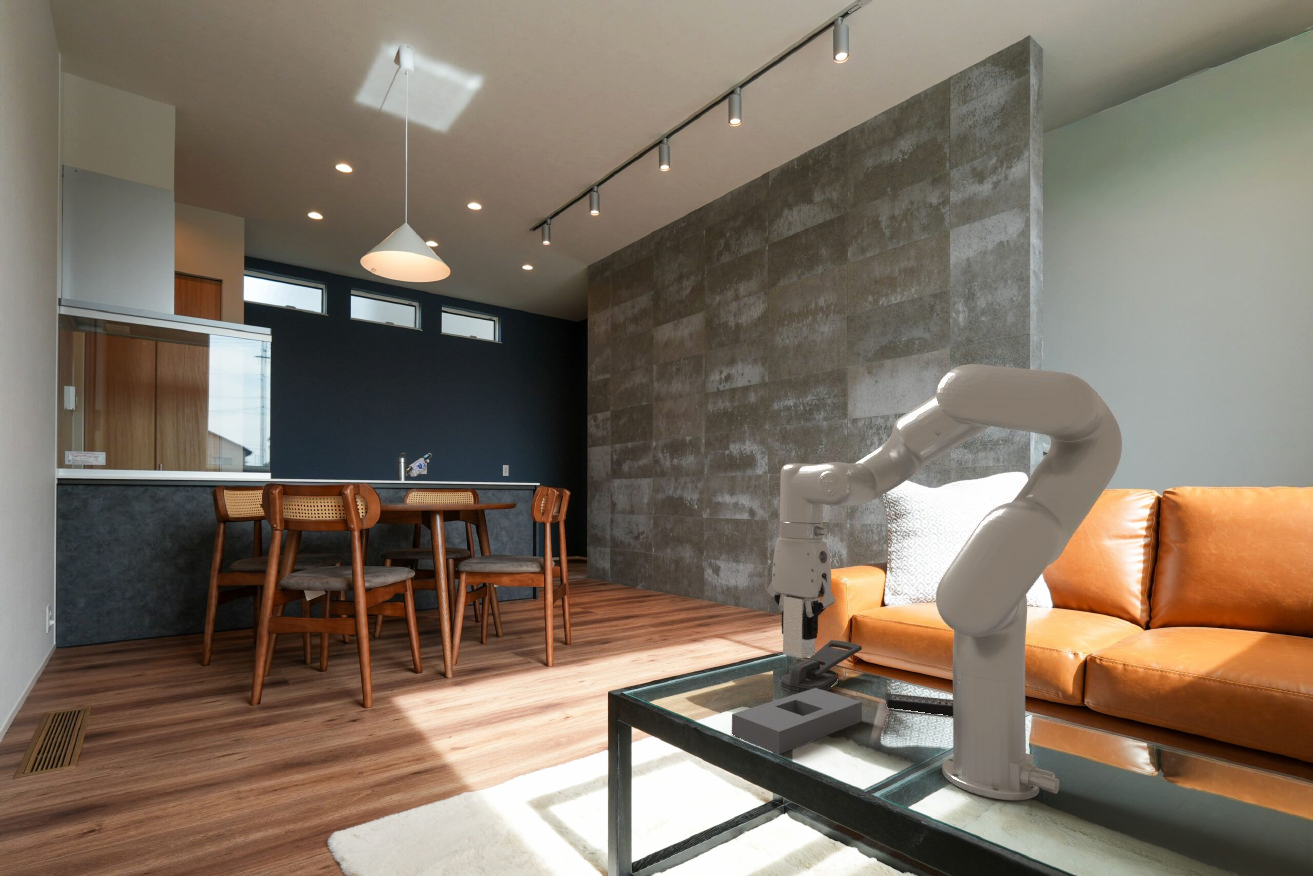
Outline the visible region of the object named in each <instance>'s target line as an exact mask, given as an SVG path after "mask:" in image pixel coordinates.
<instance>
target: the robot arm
mask: <svg viewBox="0 0 1313 876" xmlns="http://www.w3.org/2000/svg"><path fill="white" fill-rule="evenodd" d="M991 427H994V428H1000V429H1007V430H1013V431H1019V432H1020V431H1021V432H1025V433H1026V432H1027V433H1028V432H1029V433H1033V434H1038V435H1039V434H1040V435H1043V436H1044V435H1045V436H1047V437H1049V439H1050V446H1049V450H1048V452H1047V453H1046V455H1045V456H1044V457H1043V459H1042V460H1041V462H1039V464H1038V465H1037V466H1036V467H1035V469H1034V470H1033V472H1032V473H1031V476H1030V477H1029V479H1028V480H1027V482H1026V483H1025V484H1024V486H1023V487H1022V488H1021V490H1020V491H1019V493H1018V494H1017V495H1016V497H1015V498H1014V499H1013V500H1012V501H1011V502H1006V503H1004V504H1001V505H998V506H996V507H995V508H993V509H991V510H990V511H989V512H988V513H987V514H986V515H985V516H984V517H983V519H981V521H980V522H979V523H978V525H976V527H975V529H974V530H973V532H971V534H970V536H969V537H968V539H967V540H966V542H965V544H964V545H963V546H962V548H961V549H960V550H959V552H958V553H957V555H956V556H955V558H954V559H953V561H952V562H951V563H950V565H949V567H948V568H947V569H946V571H945V572H944V574H943V575H942V577H941V578H940V580H939V583H937V584H938V585H937V588H936V592H935V604H936V608H937V611H938V614H939V616H940V617H941V619H942V621H943V622H944V623H945V624H946V625H947V626H948V627H949V628H951V629H952V630H953V631H954V632H953V640H952V641H953V643H952V700H953V717H952V737H953V738H952V741H953V742H952V743H953V744H952V747H953V748H952V749H953V751H952V752H953V753H952V755H953V756H951V757H948V758H946V759H945V760H943V762H942V763H941V772H942V774H943V776H944V777H945V779H946V780H948V781H949V782H950V783H951V784H953V785H955V786H956V787H958V788H960V789H962V790H964V791H967V792H969V793H972V794H974V795H975V794H976V795H978V796H981V797H986V798H990V799H996V800H1002V801H1003V800H1004V801H1025V800H1029V799H1032V798H1035V797H1036V796H1038V795H1039V793H1040V789H1041V790H1044V791H1047V792H1049V793H1052V794H1058V792H1059V791H1060V790H1059V789H1060V780H1059V778H1058V777H1057V778H1056V774H1055V772H1053V771H1050V770H1046V769H1041V768H1038V767H1037V765H1035V764H1034V755H1033V754H1031V753H1027V745H1026V744H1027V741H1026V737H1027V736H1026V731H1027V730H1026V633H1027V621H1028V620H1027V619H1028V597H1027V594H1028V593H1029V591H1031V589H1032V587H1033V586H1034V585H1035V583H1036V582H1037V581H1038V579H1039V578H1041V577H1040V576H1041V575H1042V574H1043V573H1044V572H1045V570H1046V569H1047V567H1048V566H1050V565H1053V564H1054V563H1055V562H1056V561H1057V560H1058V559H1059V558H1060V557H1061V556H1062V555H1063V553H1064V552H1065V549H1066V547H1067V545H1068V544H1069V542H1070V540H1071V539H1072V537H1073V536H1074V534H1075V533H1076V532H1077V530H1078V529H1079V527H1080V526H1081V525H1082V523H1083V522H1084V521H1085V519H1086V518H1087V516H1088V515H1089V514H1090V512H1091V510H1092V509H1093V507H1094V506H1095V504H1096V503H1097V501H1098V500H1099V498H1101V495H1102V494H1104V493H1103V492H1105V490H1106V488H1107V487H1108V485H1109V484H1110V482H1111V481H1112V479H1113V477H1114V476H1115V474H1116V471H1117V469H1118V466H1119V464H1120V461H1121V459H1122V458H1121V457H1122V451H1123V449H1122V448H1123V442H1122V441H1123V439H1122V433H1121V429H1120V426H1119V424H1118V421H1117V419H1116V417H1115V415H1114V414H1113V413H1112V410H1111V409H1110V407H1109V406H1108V405H1107V403H1106V402H1105V401H1104V399H1103V397H1101V396H1100V395H1099V393H1098V392H1097V391H1096V390H1095V388H1093V387H1092V386H1091V385H1090V384H1089V383H1088V382H1087V381H1085V380H1084V379H1082V378H1081V377H1079V376H1076V375H1073V374H1071V373H1067V372H1062V371H1054V370H1052V371H1051V370H1044V369H1043V370H1042V369H1041V370H1040V369H1030V368H1029V369H1028V368H1022V367H1021V368H1018V367H1009V366H999V365H989V364H980V363H979V364H978V363H977V364H976V363H969V364H962V365H959V366H957V367H954V368H952V369H950V370H949V371H947V372H946V373H945V374H944V376H943V377H942V378H941V379H940V381H939V382H938V385H937V387H936V392H935V395H933V396H931V397H930V398H928V399H927V400H925V401H924V402H923V403H921V404H919V405H918V406H915V407H914V408H912V409H911V410H910V411H908V412H907V413H905V414H903V415H902V416H900V417H899V418H897V420H896V421H895V422H894V425H893V427H892V431H891V434H890V437H889V438H888V439H887V440H886V441H885V442H884V443H883V444H882V445H881V446H879V448H877V449H876V450H874V451H872V452H871V453H869V454H868V455H866V456H864V457H863V458H861V459H859V460H857V461H856V462H854V463H851V462H849V463H848V462H840V461H832V462H824V463H817V464H814V463H797V462H796V463H794V462H793V463H787V464H784V465H783V466H782V468H781V469H780V481H779V482H780V492H779V494H780V495H779V496H780V497H779V499H780V500H779V537H778V538H777V539H776V544H775V547H774V552H773V561H772V573H771V576H772V577H771V581H770V584H769V585H768V587H767V589H766V591H767V593H768V594H769V595H770V596H771V597H772V598H774V601H775V603H776V604H777V606H778V610H779V611H780V612H781V635H783V616H784V596H794V597H800V598H804V599H805V606H806V614H807V616H804V639H805V640H811V639H815V640H816V639H817V638H818V633H819V616H821V615H822V613H823V612H824V611H825V610H826V609H827V608H828V607H831V606H833V604H835V603H836V598H835V595H834V594H833V592H832V570H831V558H830V553H829V546H828V544H827V543H828V542H827V541H823V537H824V536H825V537H826V536H827V535H828V533H829V532H828V529H827V527H824V523H823V522H824V521H823V514H824V513H823V511H824V510H823V507H824V506H823V505H825V506H829V507H830V506H832V507H847V506H848V507H850V506H852V507H855V506H857V507H858V506H863V505H866V504H868V503H870V502H872V501H874V500H876V499H878V498H879V497H881V496H883V495H885V494H887V493H888V492H891V491H892V490H893V489H895V488H897V487H898V486H901V485H902V484H903V483H905V482H906V481H907V480H908V479H910V478H912V477H913V476H914V475H915V474H916V473H918V472H919V471H921V470H923V469H924V468H925V467H926V465H928V464H930V463H931V462H933V461H934V460H936V459H938V458H939V457H942V456H943V455H944V454H946V453H947V452H948V453H949V451H951V450H952V449H954V448H956V447H958V446H959V445H961V444H963V443H965V442H967V441H968V440H969V439H973V437H975V436H977V435H978V434H980V433H982V432H983V431H985V430H988V429H989V428H991ZM820 598H822V600H821V599H820ZM812 602H813V603H812Z"/></svg>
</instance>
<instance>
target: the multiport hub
mask: <svg viewBox="0 0 1313 876" xmlns="http://www.w3.org/2000/svg"><path fill="white" fill-rule="evenodd" d="M884 695H885V696H884V697H885V699H884V700H885V701H886V704H887V707H888V708H894V709H903V710H911V711H918V712H925V713H931V714H943V715H948V716H947V717H951V716H953V699H950V698H940V697H939V698H938V697H931V696H921V695H920V696H919V695H911V694H910V695H908V694H900V693H899V694H898V693H889V692H888V693H884ZM885 701H884V702H885ZM886 704H885V705H886ZM887 707H886V708H887ZM931 714H930V715H931Z"/></svg>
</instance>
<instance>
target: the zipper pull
mask: <svg viewBox="0 0 1313 876" xmlns="http://www.w3.org/2000/svg"><path fill="white" fill-rule="evenodd" d="M862 650H863V648H862V645H860V644H857V643H853V642H849V641H843V640H835V639H834V640H833V639H830V640H829V641H828V642H827V643H826V644H825V645H823V646H822V647H821V648H819V650H817V651H815V655H813V656H809V658H808V659H806V660H804V661H802V662H799V663H796V664H795V665H793V666H792V668H791V670H790V673H787V674H784V675H782V677H781V681H780V686H781V687H780V690H782V691H785V692H787V693H789V694H792V695H794V694H798V693H801V692H804V691H807V690H810V689H814V688H818V689H821V690H824V691H828V692H829V691H830V690H831V689H832V688H831V686H832V685H833V684H834V683H835V682H836V681H837V679H838V680H839V673H838V672H835V671H833V670H831V669H832V668H834V667H835V666H837V665H838V664H840V663H842V662H843V661H845V660H847V659H849V658H850V657H852V656H854V655H855V654H856V653H859V652H860V651H862ZM830 688H831V689H830ZM829 689H830V690H829Z"/></svg>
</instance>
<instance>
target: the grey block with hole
mask: <svg viewBox="0 0 1313 876" xmlns="http://www.w3.org/2000/svg"><path fill="white" fill-rule="evenodd" d="M862 708H863V703H862V701H861V700H859V699H853V698H850V697H847V696H844V695H841V694H838V693H833V692H831V691H829V690H828V691H824V690H821V689H818V688H814V689H810V690H807V691H804V692H801V693H798V694H792V695H788V696H785V697H781V698H779V699H775V700H773V701H770V702H766V703H763V704H759V705H756V706H753V707H750V708H747V709H744V710H741V711H736V712H733V713H732V714H731V735H732V734H733V735H735V736H738V737H739V738H738V739H740V738H741V739H740V740H742V739H743V740H742V741H745V742H747V741H748V742H747V743H749V744H752V745H754V744H755V746H757V747H759V746H760V748H762V749H764V748H765V750H767V751H769V750H770V751H769V752H771V753H774V754H776V753H777V755H781V754H784V753H787V752H788V751H791V750H793V749H796V748H799V747H802V746H803V745H806V744H808V743H809V744H810V743H812V742H813V741H817V740H819V739H821V738H823V737H826V736H829V735H831V734H834V733H836V732H838V731H842V730H844V729H847V728H849V727H851V726H855V725H857V724H859V723H861V722H862V721H863V720H862V719H863V715H862V713H863V711H862V710H863V709H862ZM735 736H734V737H735Z"/></svg>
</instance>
